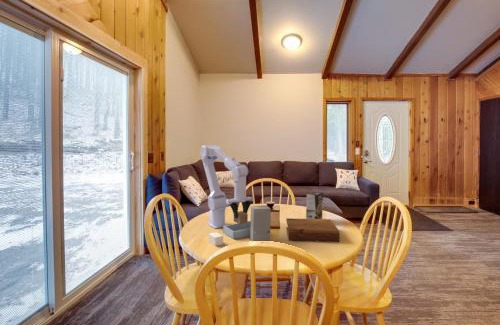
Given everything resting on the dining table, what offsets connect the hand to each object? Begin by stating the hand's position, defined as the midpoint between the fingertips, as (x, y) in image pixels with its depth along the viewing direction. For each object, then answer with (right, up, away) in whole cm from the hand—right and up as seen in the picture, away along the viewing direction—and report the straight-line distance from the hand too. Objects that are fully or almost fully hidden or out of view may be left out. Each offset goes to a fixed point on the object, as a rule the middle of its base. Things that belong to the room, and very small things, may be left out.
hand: (240, 216), depth 138 cm
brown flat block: (+35, -9, -1) cm, 36 cm away
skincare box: (+10, -9, -8) cm, 16 cm away
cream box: (-11, -10, -12) cm, 19 cm away
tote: (+2, -8, +2) cm, 9 cm away
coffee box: (+42, -7, +21) cm, 47 cm away
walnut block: (0, -3, 0) cm, 3 cm away
